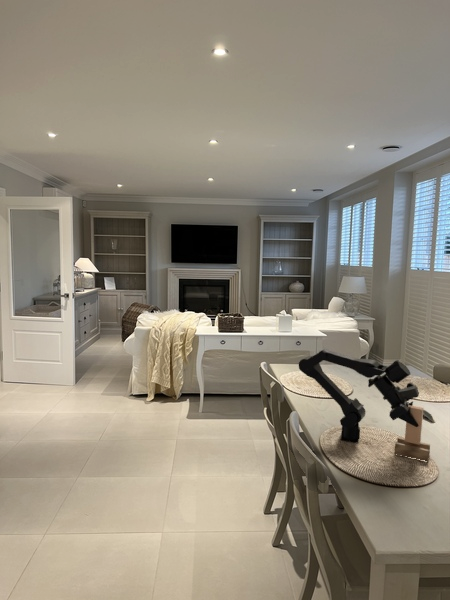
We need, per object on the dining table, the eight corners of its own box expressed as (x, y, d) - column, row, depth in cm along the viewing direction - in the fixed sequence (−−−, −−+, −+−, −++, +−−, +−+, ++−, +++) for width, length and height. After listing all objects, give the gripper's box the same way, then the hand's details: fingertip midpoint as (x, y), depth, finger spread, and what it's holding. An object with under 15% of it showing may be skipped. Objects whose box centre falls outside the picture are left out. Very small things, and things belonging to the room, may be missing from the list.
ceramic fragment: (410, 411, 195) (411, 403, 195) (420, 411, 197) (420, 403, 196) (431, 424, 182) (432, 415, 181) (441, 423, 183) (442, 414, 183)
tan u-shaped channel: (394, 454, 151) (394, 444, 151) (397, 446, 158) (398, 436, 158) (427, 462, 146) (428, 452, 145) (429, 453, 153) (430, 443, 152)
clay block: (404, 441, 152) (407, 406, 150) (405, 438, 154) (408, 404, 152) (419, 444, 149) (422, 409, 148) (420, 442, 151) (423, 407, 150)
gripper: (402, 384, 143) (434, 422, 139) (409, 371, 159) (439, 405, 154) (376, 401, 148) (407, 438, 143) (386, 387, 164) (414, 421, 159)
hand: (418, 425), depth 150 cm, fingers closed on clay block, 2 cm apart
